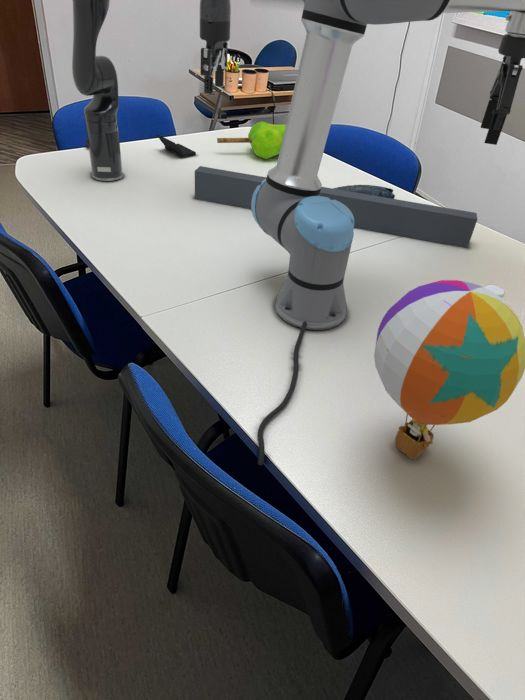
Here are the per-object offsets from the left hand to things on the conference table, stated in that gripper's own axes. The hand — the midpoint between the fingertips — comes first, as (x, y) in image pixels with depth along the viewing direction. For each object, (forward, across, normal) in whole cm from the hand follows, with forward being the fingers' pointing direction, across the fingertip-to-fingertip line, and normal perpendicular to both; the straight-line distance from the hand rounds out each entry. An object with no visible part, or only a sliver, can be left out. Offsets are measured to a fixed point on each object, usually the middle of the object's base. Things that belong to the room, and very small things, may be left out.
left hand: (214, 89), depth 137 cm
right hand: (+1, 0, +71) cm, 71 cm away
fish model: (+30, -18, +42) cm, 55 cm away
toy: (+30, +82, +62) cm, 107 cm away
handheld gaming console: (+30, -33, -25) cm, 51 cm away
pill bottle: (+30, +40, +75) cm, 91 cm away
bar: (+30, 0, +35) cm, 46 cm away
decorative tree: (+30, -45, +2) cm, 54 cm away
